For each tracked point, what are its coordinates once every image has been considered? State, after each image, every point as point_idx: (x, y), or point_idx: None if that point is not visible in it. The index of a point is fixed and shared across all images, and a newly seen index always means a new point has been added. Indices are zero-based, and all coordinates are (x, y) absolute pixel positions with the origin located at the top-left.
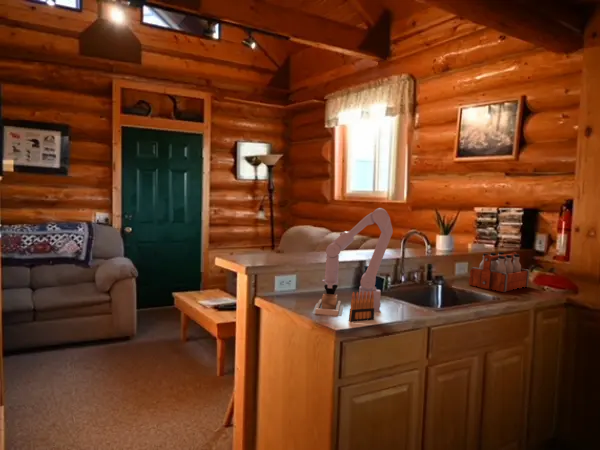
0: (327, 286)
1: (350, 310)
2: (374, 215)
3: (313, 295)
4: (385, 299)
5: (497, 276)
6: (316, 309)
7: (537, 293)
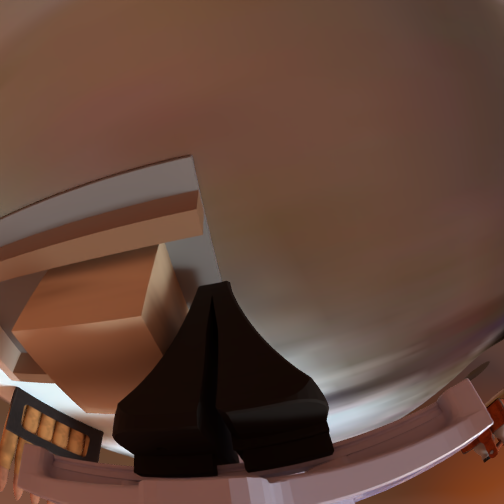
0: (127, 448)
1: (5, 424)
2: None
3: (484, 85)
4: (425, 392)
5: (470, 443)
6: None
7: None
